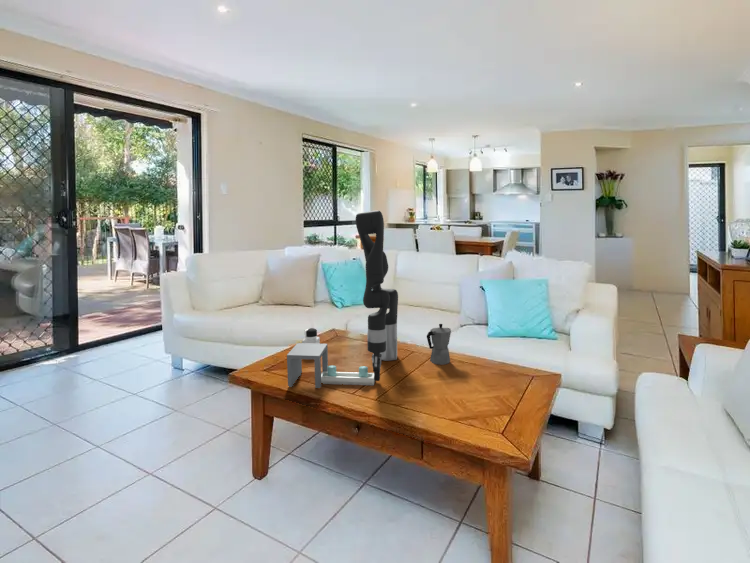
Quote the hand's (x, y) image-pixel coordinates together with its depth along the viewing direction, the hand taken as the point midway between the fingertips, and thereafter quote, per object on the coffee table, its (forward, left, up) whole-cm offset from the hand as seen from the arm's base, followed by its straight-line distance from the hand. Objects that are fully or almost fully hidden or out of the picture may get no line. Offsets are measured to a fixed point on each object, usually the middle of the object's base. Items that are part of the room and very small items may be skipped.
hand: (377, 380), depth 183 cm
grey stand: (+28, 0, -1) cm, 28 cm away
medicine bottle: (+36, -36, -1) cm, 51 cm away
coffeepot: (-26, -27, -1) cm, 38 cm away
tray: (+12, 0, -1) cm, 12 cm away
